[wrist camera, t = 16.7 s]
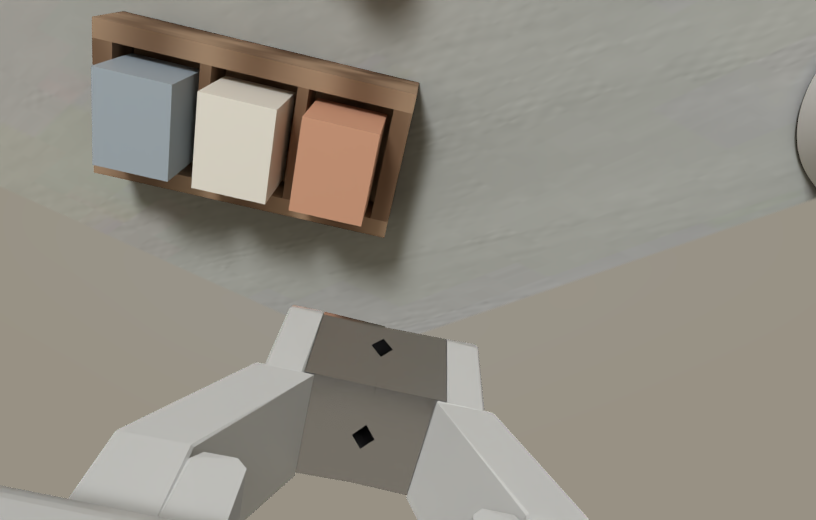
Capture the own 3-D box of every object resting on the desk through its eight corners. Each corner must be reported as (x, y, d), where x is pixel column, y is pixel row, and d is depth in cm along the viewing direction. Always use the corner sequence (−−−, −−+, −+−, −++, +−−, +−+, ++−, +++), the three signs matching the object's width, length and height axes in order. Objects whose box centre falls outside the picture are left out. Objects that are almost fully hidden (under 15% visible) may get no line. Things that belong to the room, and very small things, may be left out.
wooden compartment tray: (419, 82, 41) (416, 94, 37) (388, 215, 45) (384, 237, 42) (123, 11, 40) (91, 16, 36) (122, 154, 44) (93, 172, 41)
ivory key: (295, 92, 39) (276, 109, 35) (283, 177, 42) (265, 204, 37) (225, 75, 39) (197, 91, 35) (217, 162, 42) (191, 187, 37)
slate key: (202, 69, 39) (171, 84, 35) (196, 157, 42) (167, 181, 37) (131, 52, 39) (91, 65, 34) (130, 142, 41) (92, 164, 37)
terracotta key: (387, 114, 40) (380, 134, 35) (369, 198, 42) (361, 226, 38) (318, 98, 39) (302, 116, 35) (304, 183, 42) (288, 210, 38)
